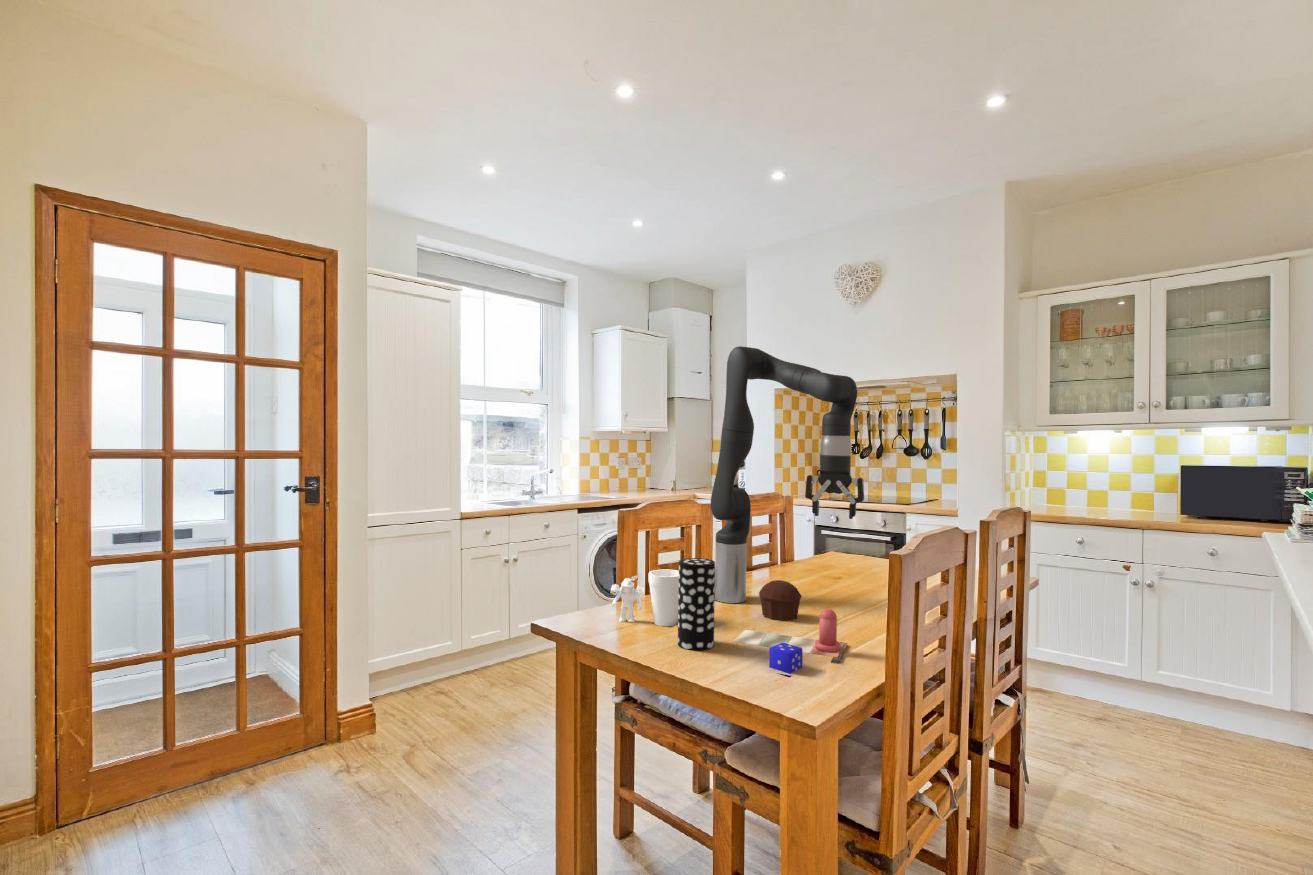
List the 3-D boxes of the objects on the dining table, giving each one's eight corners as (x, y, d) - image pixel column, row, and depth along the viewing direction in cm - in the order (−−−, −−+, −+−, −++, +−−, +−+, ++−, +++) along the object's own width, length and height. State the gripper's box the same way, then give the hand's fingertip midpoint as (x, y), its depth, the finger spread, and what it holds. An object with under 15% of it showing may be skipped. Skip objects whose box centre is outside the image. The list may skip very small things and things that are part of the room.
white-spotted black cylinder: (717, 653, 143) (719, 564, 142) (681, 655, 141) (682, 565, 141) (708, 641, 151) (709, 557, 151) (674, 642, 149) (675, 558, 149)
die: (768, 671, 132) (769, 647, 132) (782, 665, 136) (782, 642, 136) (789, 677, 129) (789, 653, 129) (802, 671, 132) (802, 647, 132)
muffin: (751, 614, 174) (751, 577, 174) (787, 611, 177) (788, 575, 177) (771, 626, 163) (771, 588, 163) (809, 623, 166) (809, 585, 166)
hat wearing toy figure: (644, 619, 168) (645, 574, 168) (642, 623, 164) (642, 577, 164) (611, 617, 170) (612, 572, 169) (608, 621, 166) (608, 575, 166)
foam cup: (642, 625, 163) (643, 574, 163) (655, 615, 171) (656, 568, 171) (677, 629, 159) (677, 578, 159) (688, 620, 168) (689, 571, 168)
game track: (728, 646, 147) (728, 642, 147) (744, 630, 159) (744, 627, 159) (839, 663, 137) (839, 659, 137) (847, 645, 149) (847, 642, 149)
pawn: (812, 650, 143) (813, 610, 143) (817, 642, 148) (818, 604, 148) (838, 654, 141) (838, 613, 141) (842, 646, 146) (842, 607, 146)
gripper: (804, 453, 160) (802, 516, 161) (863, 455, 154) (861, 521, 155) (810, 452, 167) (808, 513, 167) (866, 454, 161) (864, 517, 162)
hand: (833, 517), depth 161 cm, fingers open, 8 cm apart
